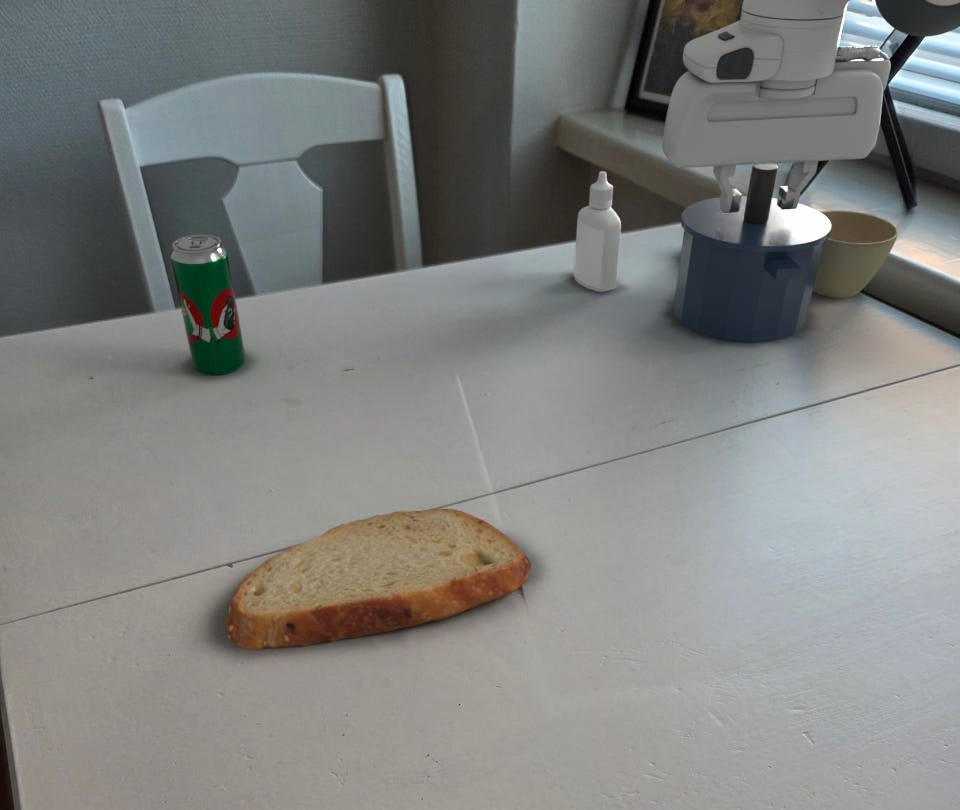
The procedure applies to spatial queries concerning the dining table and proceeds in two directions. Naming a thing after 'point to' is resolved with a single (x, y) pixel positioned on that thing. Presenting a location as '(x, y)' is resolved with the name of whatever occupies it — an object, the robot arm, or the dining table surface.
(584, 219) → the eye dropper bottle
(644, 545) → the dining table surface
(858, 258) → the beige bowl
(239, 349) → the soda can
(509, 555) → the bread slice
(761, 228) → the lid
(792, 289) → the pot
